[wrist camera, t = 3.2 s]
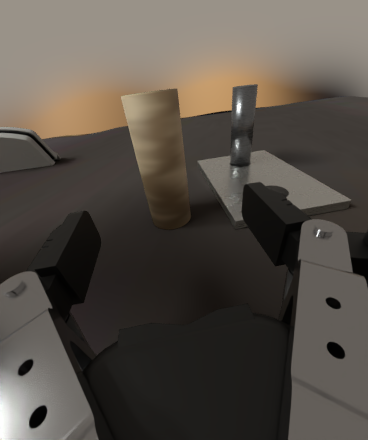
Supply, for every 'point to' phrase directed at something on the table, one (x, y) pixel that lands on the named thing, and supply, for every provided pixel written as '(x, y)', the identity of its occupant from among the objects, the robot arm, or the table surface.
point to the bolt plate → (261, 169)
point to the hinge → (23, 150)
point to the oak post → (160, 154)
